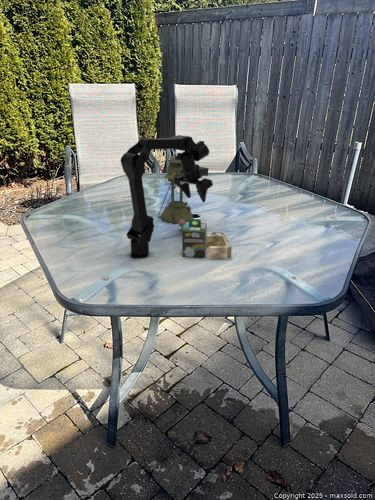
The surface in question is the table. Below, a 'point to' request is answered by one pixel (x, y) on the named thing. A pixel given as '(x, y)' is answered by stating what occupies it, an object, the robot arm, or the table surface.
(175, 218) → the lantern
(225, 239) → the wooden square frame
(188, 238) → the chalk box
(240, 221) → the table surface
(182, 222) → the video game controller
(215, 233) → the wheel
